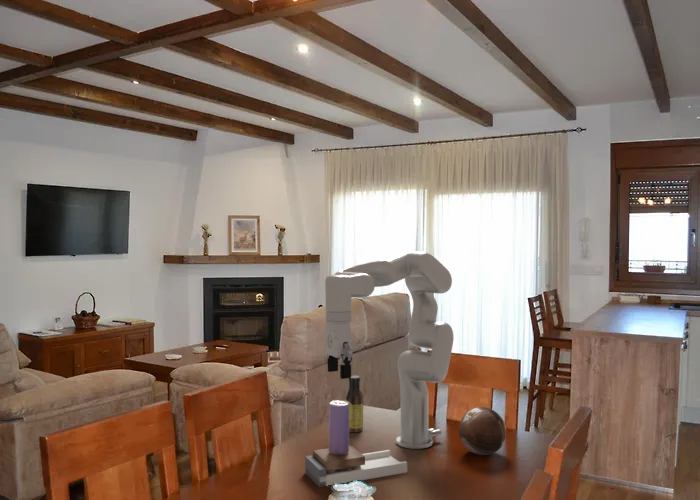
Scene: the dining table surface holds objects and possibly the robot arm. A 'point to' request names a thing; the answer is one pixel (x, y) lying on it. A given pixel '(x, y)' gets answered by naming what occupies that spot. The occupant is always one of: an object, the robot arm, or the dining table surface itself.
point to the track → (373, 468)
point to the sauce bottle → (355, 405)
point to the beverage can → (339, 428)
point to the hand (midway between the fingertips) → (339, 374)
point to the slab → (339, 460)
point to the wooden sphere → (482, 431)
